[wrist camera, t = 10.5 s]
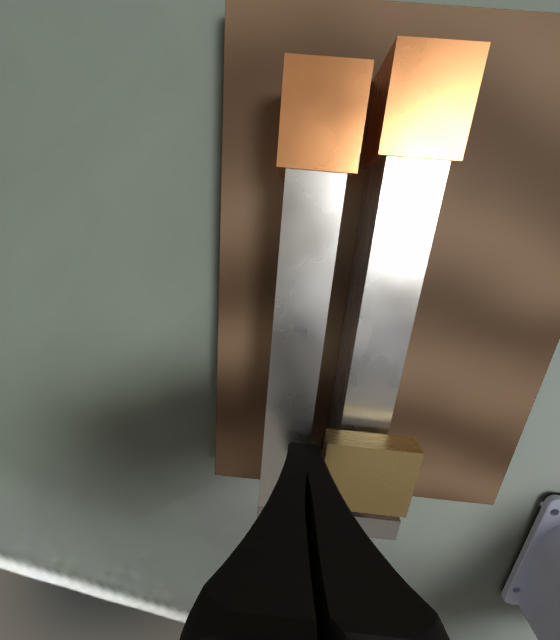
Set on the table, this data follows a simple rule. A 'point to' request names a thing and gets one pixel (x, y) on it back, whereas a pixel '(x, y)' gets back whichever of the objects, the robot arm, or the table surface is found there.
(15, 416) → the table surface
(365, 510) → the tab
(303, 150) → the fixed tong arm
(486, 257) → the board
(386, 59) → the tong arm
